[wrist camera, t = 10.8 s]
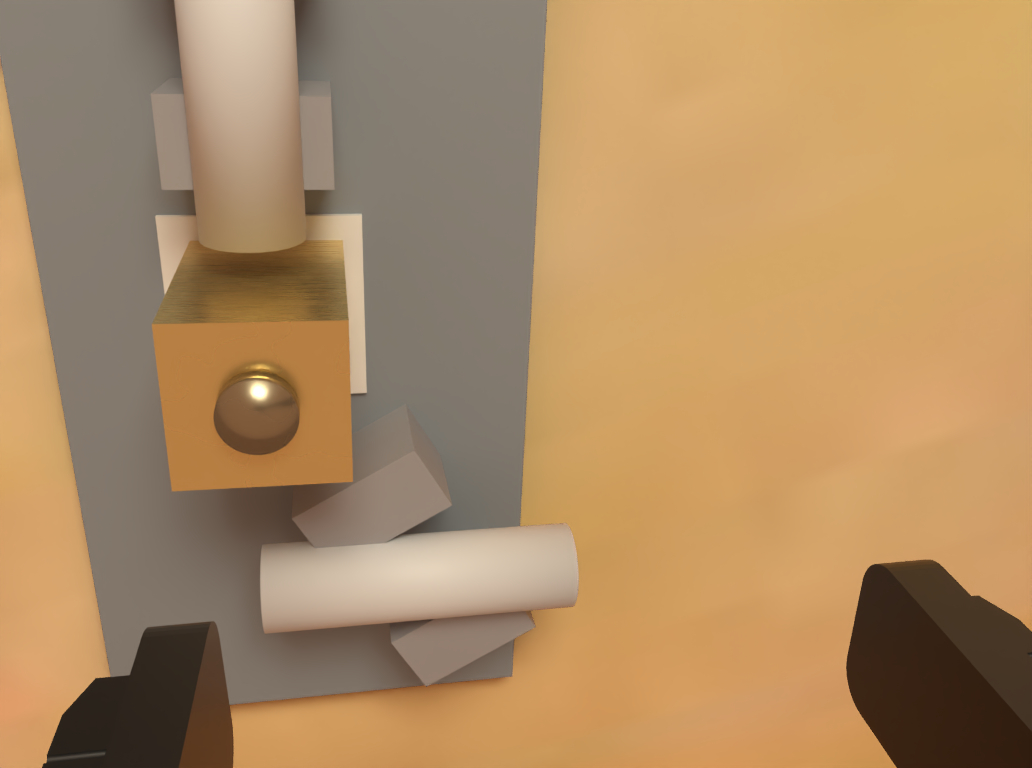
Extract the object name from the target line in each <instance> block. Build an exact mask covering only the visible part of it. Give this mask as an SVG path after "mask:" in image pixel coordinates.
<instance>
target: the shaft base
mask: <svg viewBox="0 0 1032 768" xmlns="http://www.w3.org/2000/svg"><path fill="white" fill-rule="evenodd" d="M546 13H547V0H0V58H1V64H2V69H3V75H4V81H5V86H6V92H7V97H8V103H9V109H10V114H11V120H12V125H13V131H14V137H15V142H16V148H17V153H18V159H19V165H20V170H21V176H22V181H23V187H24V193H25V198H26V204H27V209H28V215H29V221H30V226H31V232H32V237H33V243H34V249H35V254H36V260H37V265H38V271H39V277H40V282H41V288H42V293H43V299H44V305H45V310H46V316H47V321H48V327H49V333H50V338H51V344H52V350H53V355H54V361H55V366H56V372H57V378H58V383H59V389H60V394H61V400H62V406H63V411H64V417H65V422H66V428H67V434H68V439H69V445H70V450H71V456H72V462H73V467H74V473H75V478H76V484H77V490H78V495H79V501H80V506H81V512H82V518H83V523H84V529H85V534H86V540H87V546H88V551H89V557H90V562H91V568H92V574H93V579H94V585H95V590H96V596H97V602H98V607H99V613H100V619H101V624H102V630H103V635H104V641H105V647H106V652H107V658H108V663H109V669H110V675H111V677H116V676H126V675H130V673H131V669H132V666H133V663H134V660H135V657H136V653H137V650H138V647H139V644H140V641H141V637H142V635H143V632H144V631H145V629H146V628H147V627H154V626H165V625H176V624H187V623H199V622H210V621H214V622H215V623H216V625H217V628H218V632H219V637H220V644H221V651H222V658H223V664H224V671H225V678H226V685H227V691H228V698H229V705H233V704H243V703H253V702H263V701H273V700H283V699H293V698H303V697H313V696H323V695H333V694H343V693H352V692H362V691H372V690H382V689H392V688H402V687H412V686H422V685H425V686H426V687H427V686H429V685H432V684H442V683H452V682H462V681H472V680H482V679H491V678H501V677H511V676H512V671H513V651H514V639H515V638H516V637H518V636H520V635H522V634H524V633H526V632H527V631H529V630H531V629H533V628H535V624H534V620H533V617H532V614H531V611H530V610H541V609H553V608H564V607H573V606H574V605H575V603H576V600H577V595H578V582H579V577H578V561H577V553H576V547H575V542H574V538H573V535H572V532H571V529H570V527H569V526H568V525H567V524H566V523H560V524H546V525H531V526H520V516H521V496H522V477H523V458H524V438H525V419H526V400H527V380H528V361H529V342H530V322H531V303H532V284H533V264H534V245H535V226H536V206H537V187H538V168H539V148H540V129H541V110H542V90H543V71H544V52H545V32H546ZM305 240H343V250H344V264H345V277H346V291H347V304H348V318H349V350H350V387H351V424H352V461H353V482H342V483H323V484H304V485H285V486H266V487H247V488H228V489H209V490H190V491H172V488H171V480H170V472H169V464H168V455H167V447H166V439H165V430H164V422H163V414H162V406H161V397H160V389H159V381H158V373H157V364H156V356H155V348H154V339H153V331H152V323H153V320H154V318H155V316H156V314H157V312H158V309H159V307H160V305H161V303H162V301H163V298H164V296H165V294H166V292H167V290H168V287H169V285H170V283H171V281H172V279H173V276H174V274H175V272H176V270H177V268H178V265H179V263H180V261H181V259H182V257H183V255H184V252H185V250H186V248H187V246H188V244H189V241H199V242H200V244H202V245H203V246H205V247H207V248H210V249H214V250H218V251H224V252H234V253H260V252H271V251H278V250H283V249H288V248H291V247H294V246H297V245H299V244H301V243H303V242H304V241H305Z"/></svg>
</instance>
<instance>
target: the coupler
mask: <svg viewBox="0 0 1032 768" xmlns="http://www.w3.org/2000/svg"><path fill="white" fill-rule="evenodd" d="M152 331H153V339H154V348H155V356H156V364H157V373H158V381H159V389H160V397H161V406H162V414H163V422H164V430H165V439H166V447H167V455H168V464H169V472H170V480H171V488H172V491H190V490H209V489H228V488H247V487H266V486H285V485H304V484H323V483H342V482H353V461H352V424H351V387H350V350H349V318H348V304H347V291H346V277H345V264H344V250H343V240H305V241H304V242H303V243H301V244H299V245H297V246H294V247H291V248H288V249H283V250H278V251H271V252H260V253H234V252H224V251H218V250H214V249H210V248H207V247H205V246H203V245H202V244H200V242H199V241H189V244H188V246H187V248H186V250H185V252H184V255H183V257H182V259H181V261H180V263H179V265H178V268H177V270H176V272H175V274H174V276H173V279H172V281H171V283H170V285H169V287H168V290H167V292H166V294H165V296H164V298H163V301H162V303H161V305H160V307H159V309H158V312H157V314H156V316H155V318H154V320H153V323H152Z"/></svg>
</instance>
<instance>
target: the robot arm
mask: <svg viewBox="0 0 1032 768" xmlns="http://www.w3.org/2000/svg"><path fill="white" fill-rule="evenodd" d="M846 669H847V680H848V685H849V689H850V693H851V696H852V698H853V701H854V703H855V705H856V707H857V709H858V711H859V712H860V714H861V715H862V717H863V718H864V720H865V721H866V723H867V724H868V726H869V727H870V729H871V730H872V732H873V733H874V735H875V736H876V738H877V739H878V741H879V742H880V744H881V745H882V746H883V748H884V749H885V751H886V752H887V754H888V755H889V757H890V758H891V760H892V761H893V763H894V764H895V766H896V767H897V768H1032V632H1031V631H1030V630H1029V629H1028V628H1027V627H1026V626H1025V625H1024V624H1023V623H1022V622H1021V621H1020V620H1019V619H1017V618H1015V617H1014V616H1012V615H1010V614H1009V613H1007V612H1005V611H1004V610H1002V609H1000V608H998V607H997V606H995V605H993V604H992V603H990V602H988V601H987V600H985V599H983V598H982V597H980V596H971V595H970V594H969V593H968V592H967V591H966V590H965V589H964V588H963V587H962V586H961V585H960V584H959V583H958V582H957V581H956V580H955V579H954V578H953V577H952V576H951V575H950V574H949V573H948V572H947V571H946V570H945V569H944V568H943V567H942V566H941V565H940V564H939V563H937V562H935V561H933V560H916V561H905V562H894V563H883V564H874V565H871V566H870V567H869V568H868V569H867V571H866V573H865V575H864V578H863V582H862V587H861V591H860V596H859V601H858V606H857V611H856V616H855V621H854V626H853V631H852V636H851V641H850V646H849V651H848V656H847V666H846ZM42 768H233V727H232V718H231V712H230V705H229V698H228V691H227V685H226V678H225V671H224V664H223V658H222V651H221V644H220V637H219V632H218V628H217V625H216V623H215V622H214V621H210V622H199V623H187V624H176V625H165V626H154V627H147V628H146V629H145V631H144V632H143V635H142V637H141V641H140V644H139V647H138V650H137V653H136V657H135V660H134V663H133V666H132V669H131V673H130V675H126V676H116V677H105V678H96V679H95V680H94V681H93V682H92V683H91V684H90V685H89V686H88V687H87V689H86V690H85V691H84V692H83V693H82V694H81V695H80V696H79V697H78V698H77V700H76V701H75V702H74V703H73V704H72V705H71V706H70V707H69V708H68V709H67V710H66V712H65V713H64V714H63V715H62V717H61V720H60V723H59V725H58V728H57V730H56V733H55V736H54V738H53V741H52V743H51V746H50V749H49V751H48V754H47V763H44V764H43V767H42Z"/></svg>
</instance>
